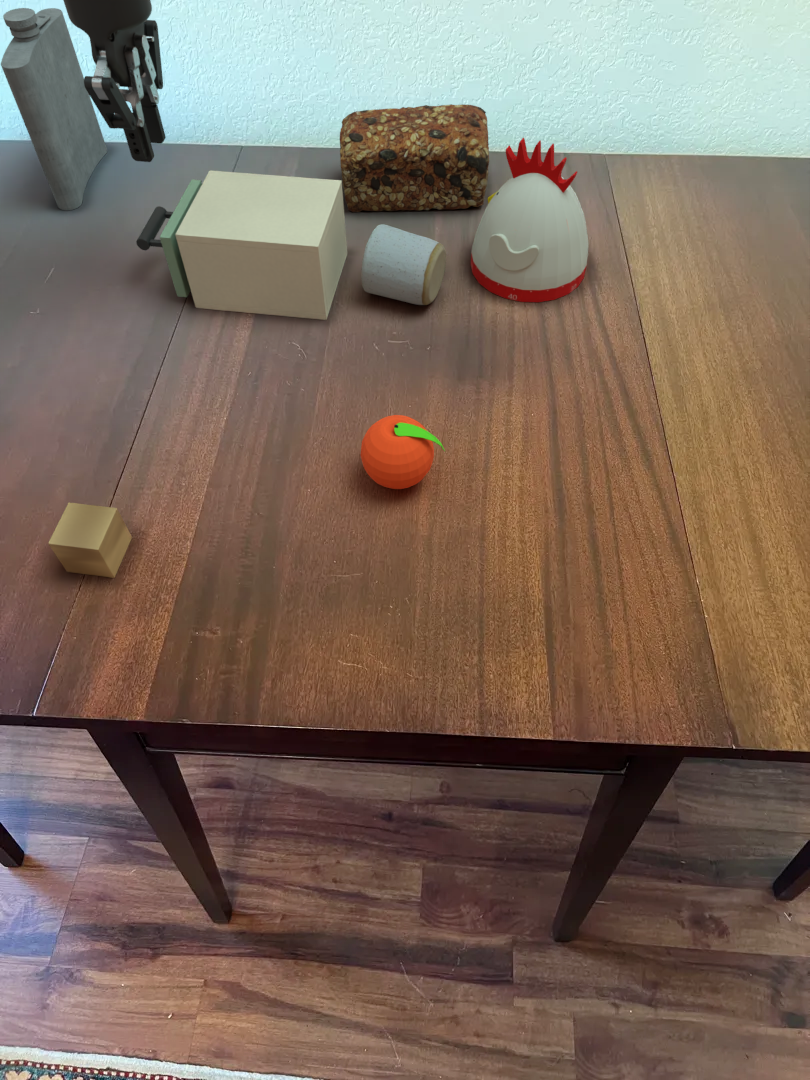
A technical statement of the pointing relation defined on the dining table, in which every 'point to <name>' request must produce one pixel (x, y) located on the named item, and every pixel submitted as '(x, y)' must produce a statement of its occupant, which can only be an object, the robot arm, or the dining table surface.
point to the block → (90, 540)
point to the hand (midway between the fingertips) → (149, 149)
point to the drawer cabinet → (264, 244)
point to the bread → (415, 158)
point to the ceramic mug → (403, 265)
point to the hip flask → (53, 101)
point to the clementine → (397, 451)
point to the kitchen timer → (531, 232)
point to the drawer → (170, 236)
